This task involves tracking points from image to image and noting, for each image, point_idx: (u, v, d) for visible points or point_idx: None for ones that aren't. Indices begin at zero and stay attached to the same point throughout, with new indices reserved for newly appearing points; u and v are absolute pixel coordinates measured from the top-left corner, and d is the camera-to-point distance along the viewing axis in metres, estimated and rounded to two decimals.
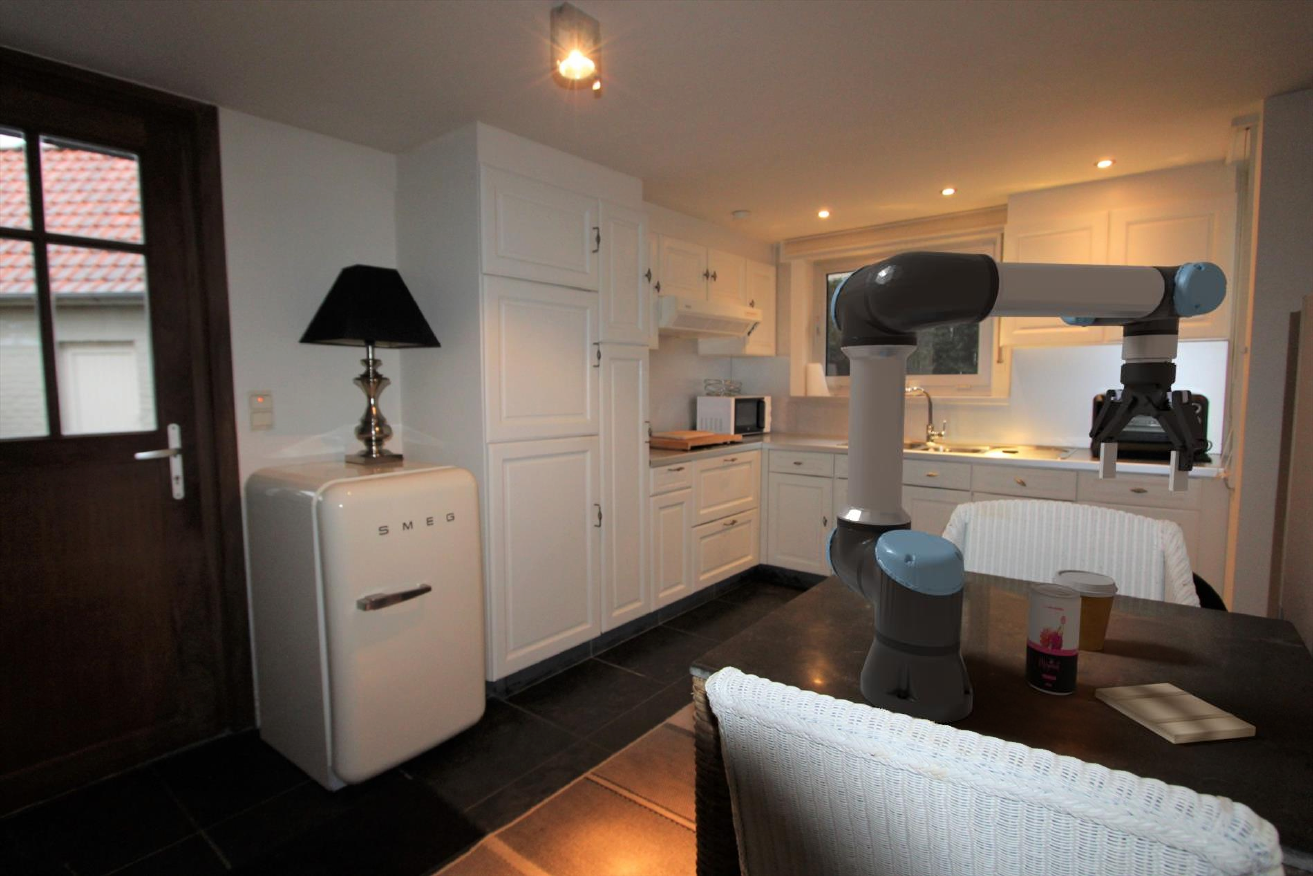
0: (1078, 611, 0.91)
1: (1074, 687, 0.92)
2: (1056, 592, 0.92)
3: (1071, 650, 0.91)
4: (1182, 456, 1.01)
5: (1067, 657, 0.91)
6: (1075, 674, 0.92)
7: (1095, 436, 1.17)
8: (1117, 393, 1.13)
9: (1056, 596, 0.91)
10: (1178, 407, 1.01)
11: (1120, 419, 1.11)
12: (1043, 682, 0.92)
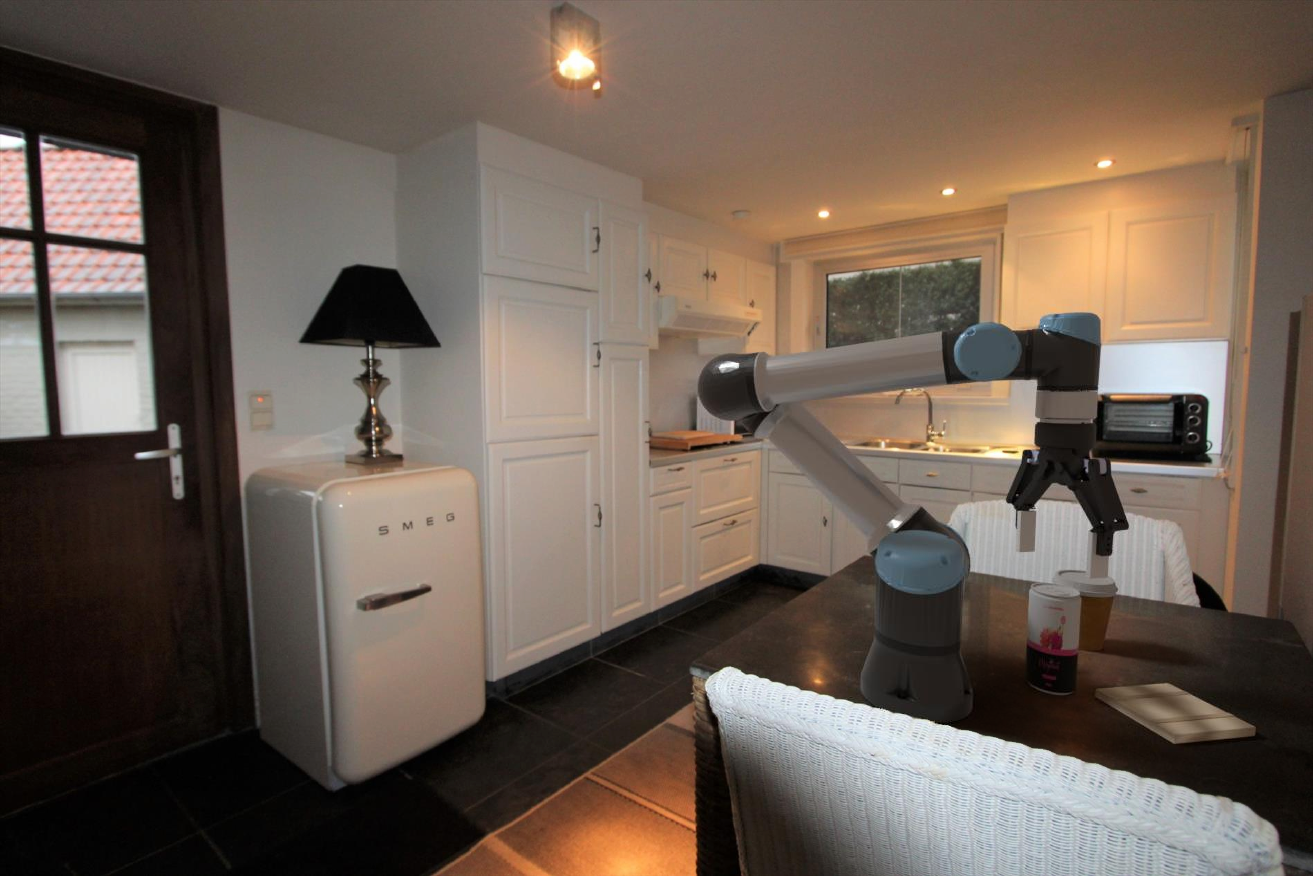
0: (1078, 611, 0.91)
1: (1074, 687, 0.92)
2: (1056, 592, 0.92)
3: (1071, 650, 0.91)
4: (1100, 538, 0.84)
5: (1067, 657, 0.91)
6: (1075, 674, 0.92)
7: (1012, 502, 1.01)
8: (1034, 454, 0.96)
9: (1056, 596, 0.91)
10: (1095, 479, 0.84)
11: (1037, 486, 0.95)
12: (1043, 682, 0.92)
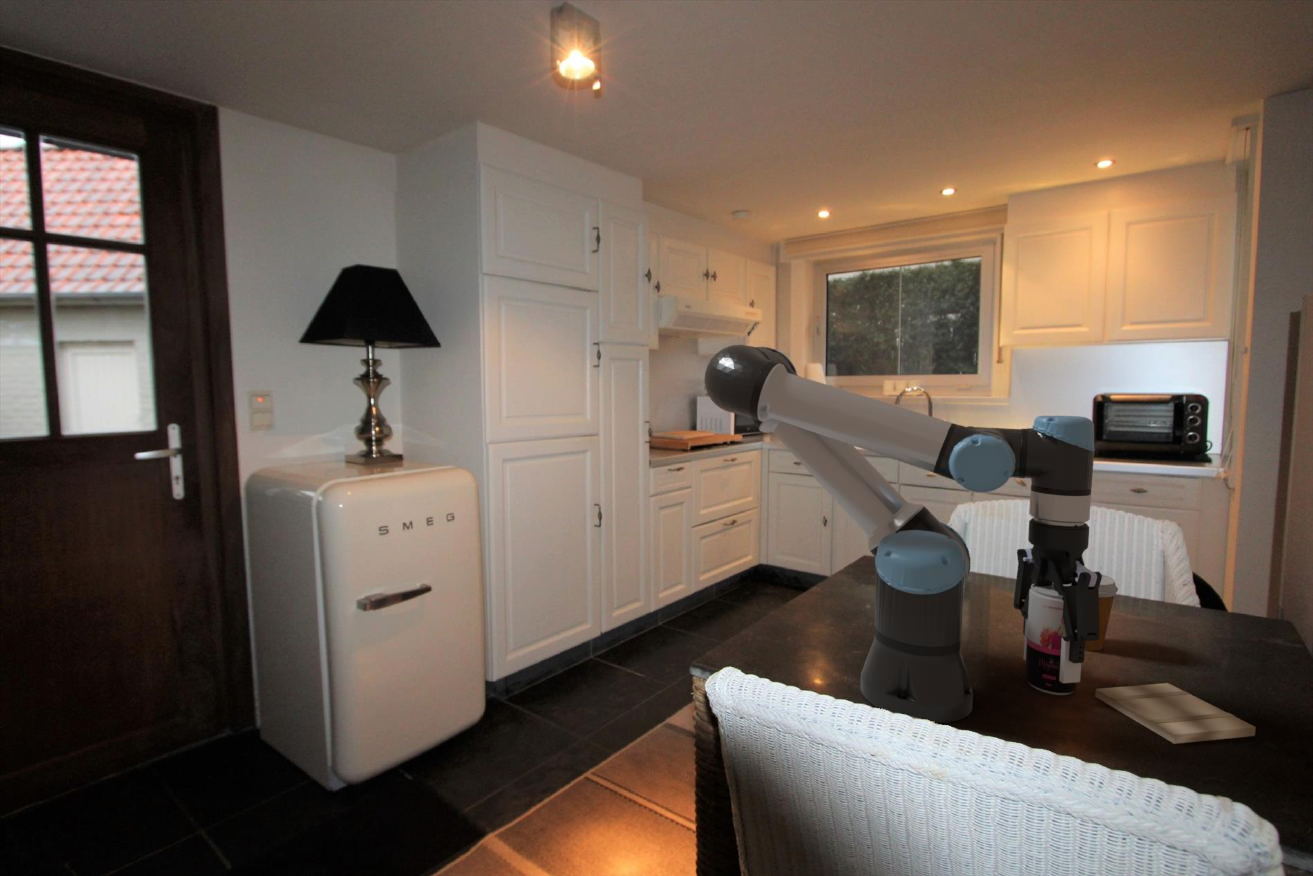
0: None
1: (1074, 687, 0.92)
2: (1056, 592, 0.92)
3: None
4: (1073, 646, 0.89)
5: None
6: None
7: (1020, 608, 0.99)
8: (1028, 553, 0.98)
9: (1056, 596, 0.91)
10: (1081, 592, 0.87)
11: (1038, 586, 0.95)
12: (1043, 682, 0.92)
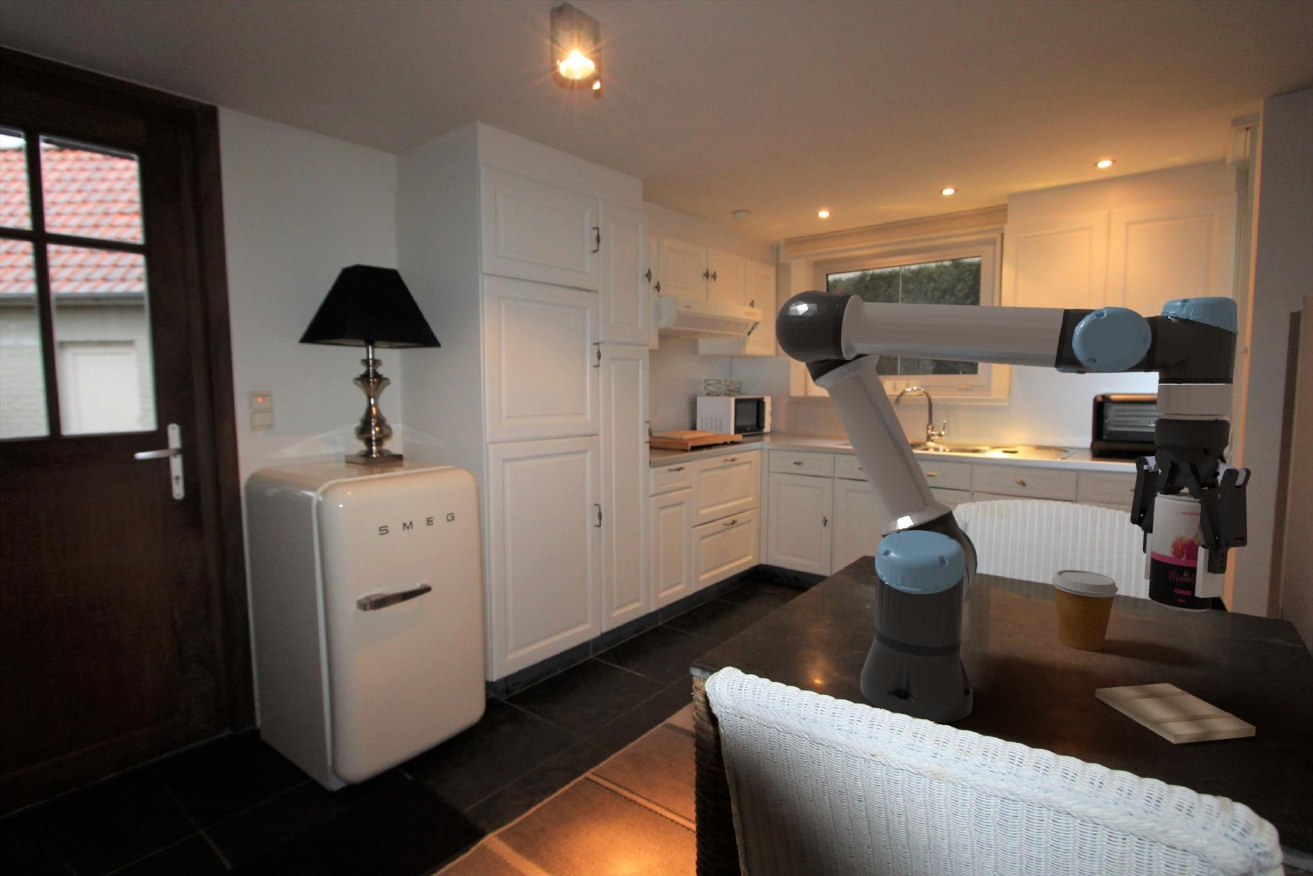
0: None
1: (1210, 603, 0.82)
2: (1189, 498, 0.83)
3: None
4: (1213, 555, 0.79)
5: None
6: None
7: (1139, 523, 0.89)
8: (1149, 460, 0.88)
9: (1192, 500, 0.81)
10: (1226, 491, 0.77)
11: None
12: (1176, 598, 0.82)
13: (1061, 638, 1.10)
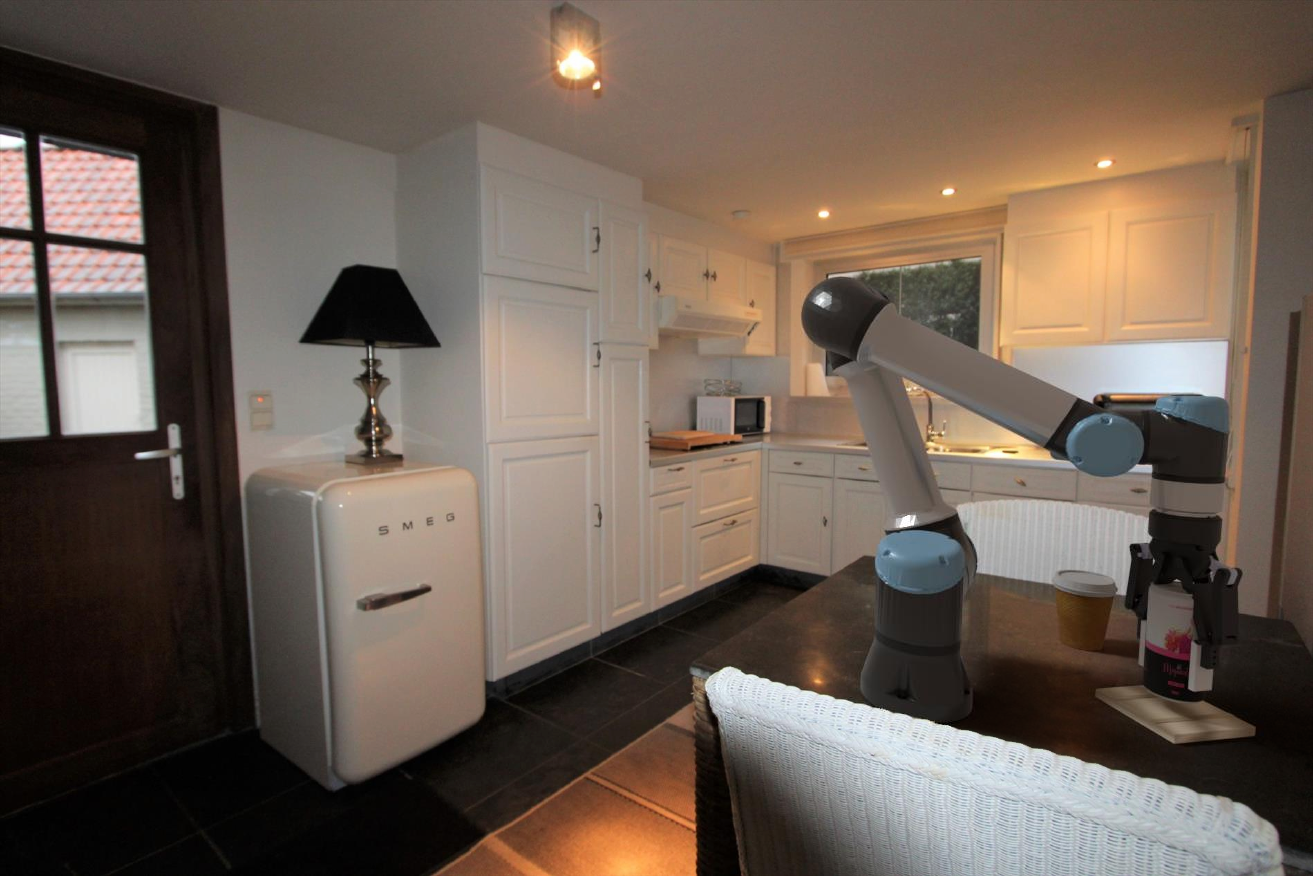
0: None
1: (1203, 695, 0.83)
2: (1182, 590, 0.84)
3: None
4: (1206, 650, 0.80)
5: None
6: None
7: (1133, 608, 0.90)
8: (1143, 547, 0.89)
9: (1185, 595, 0.82)
10: (1219, 591, 0.78)
11: (1158, 584, 0.86)
12: (1169, 690, 0.83)
13: (1061, 638, 1.10)
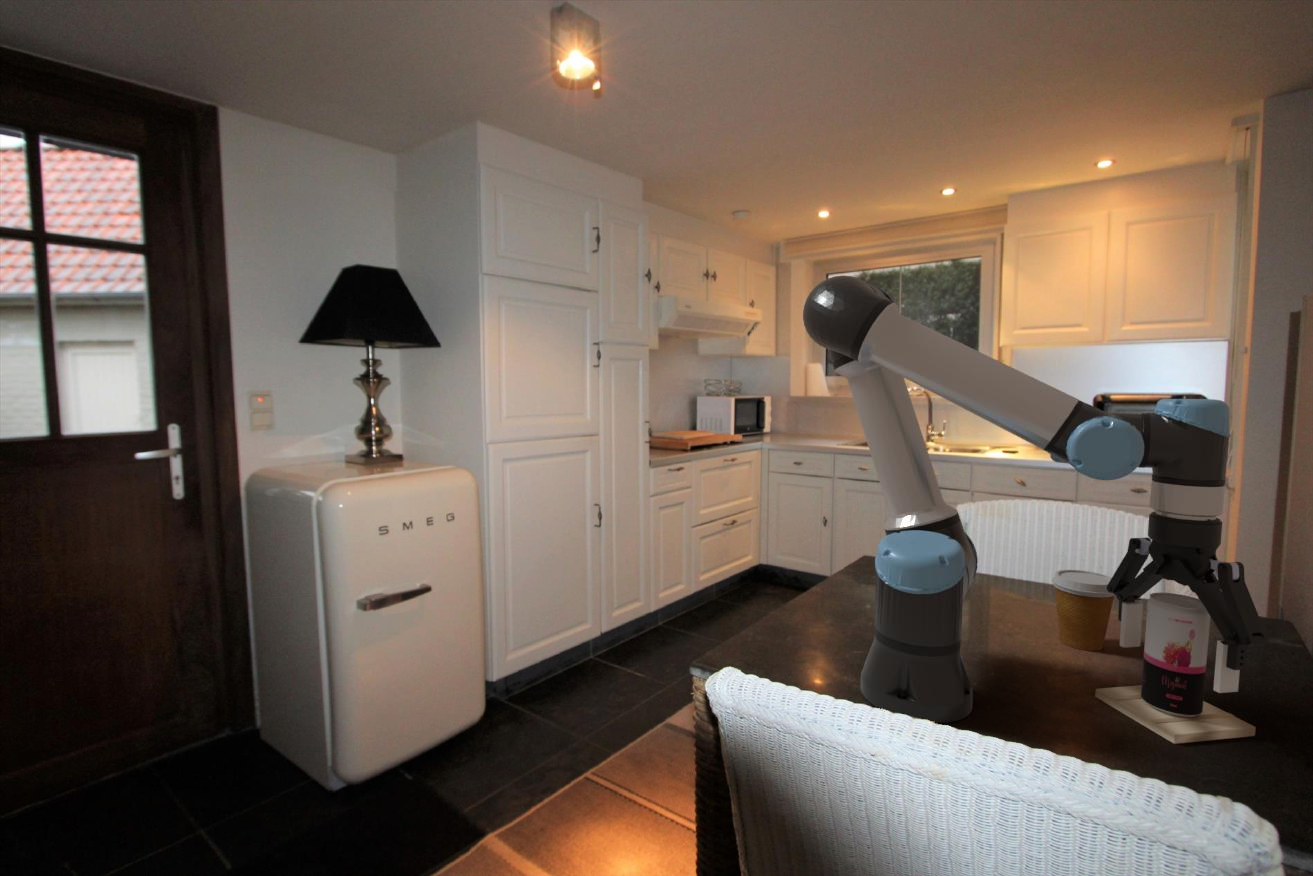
0: (1208, 624, 0.82)
1: (1201, 708, 0.83)
2: (1181, 603, 0.84)
3: (1200, 668, 0.82)
4: (1232, 650, 0.77)
5: (1196, 676, 0.82)
6: (1203, 694, 0.83)
7: (1114, 591, 0.93)
8: (1143, 544, 0.89)
9: (1184, 608, 0.82)
10: (1227, 586, 0.77)
11: (1148, 579, 0.88)
12: (1167, 703, 0.84)
13: (1061, 638, 1.10)
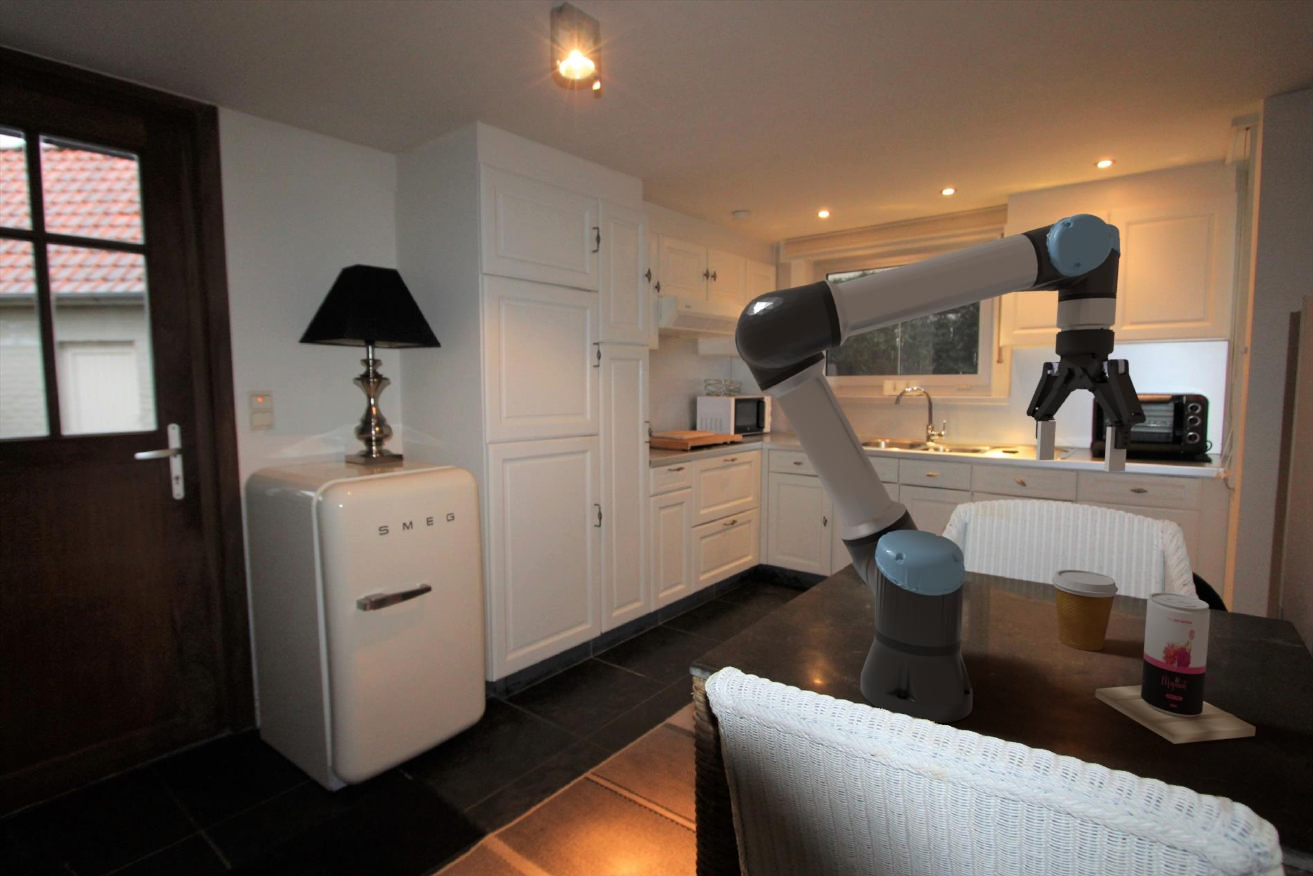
0: (1207, 624, 0.82)
1: (1201, 708, 0.83)
2: (1180, 603, 0.84)
3: (1199, 668, 0.82)
4: (1118, 432, 0.90)
5: (1196, 676, 0.82)
6: (1203, 694, 0.83)
7: (1032, 414, 1.07)
8: (1054, 366, 1.02)
9: (1183, 608, 0.82)
10: (1114, 378, 0.90)
11: (1057, 394, 1.01)
12: (1167, 703, 0.84)
13: (1061, 638, 1.10)
